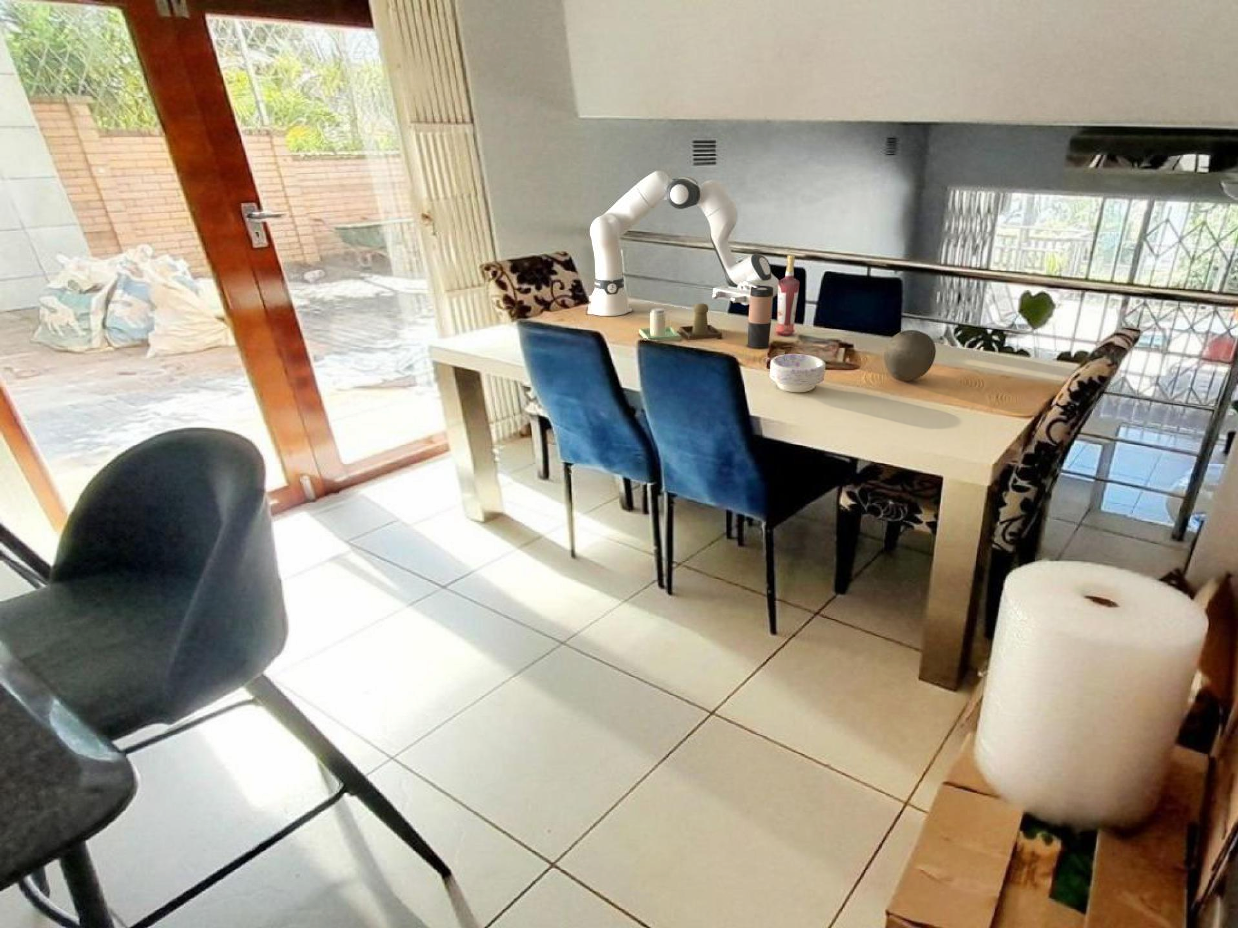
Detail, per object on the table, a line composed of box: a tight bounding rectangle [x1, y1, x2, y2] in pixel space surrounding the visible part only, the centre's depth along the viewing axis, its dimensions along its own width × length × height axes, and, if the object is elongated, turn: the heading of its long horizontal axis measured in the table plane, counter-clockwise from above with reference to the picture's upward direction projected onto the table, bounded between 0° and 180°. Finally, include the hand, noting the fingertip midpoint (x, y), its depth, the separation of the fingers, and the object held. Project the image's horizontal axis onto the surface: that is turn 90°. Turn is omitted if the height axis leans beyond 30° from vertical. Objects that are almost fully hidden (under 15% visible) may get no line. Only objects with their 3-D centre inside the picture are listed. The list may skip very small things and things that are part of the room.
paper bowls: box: [769, 353, 827, 393], centre depth 201 cm, size 15×15×8 cm
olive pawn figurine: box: [692, 302, 709, 335], centre depth 255 cm, size 6×6×11 cm
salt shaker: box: [649, 307, 667, 337], centre depth 252 cm, size 6×6×10 cm
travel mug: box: [747, 286, 774, 350], centre depth 239 cm, size 8×8×20 cm
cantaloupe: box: [883, 329, 937, 382], centre depth 203 cm, size 14×14×15 cm
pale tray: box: [638, 326, 682, 342], centre depth 255 cm, size 13×12×2 cm
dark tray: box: [678, 324, 723, 341], centre depth 257 cm, size 13×12×2 cm
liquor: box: [775, 254, 800, 337], centre depth 250 cm, size 7×7×28 cm
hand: (723, 298), depth 259 cm, fingers open, 8 cm apart
